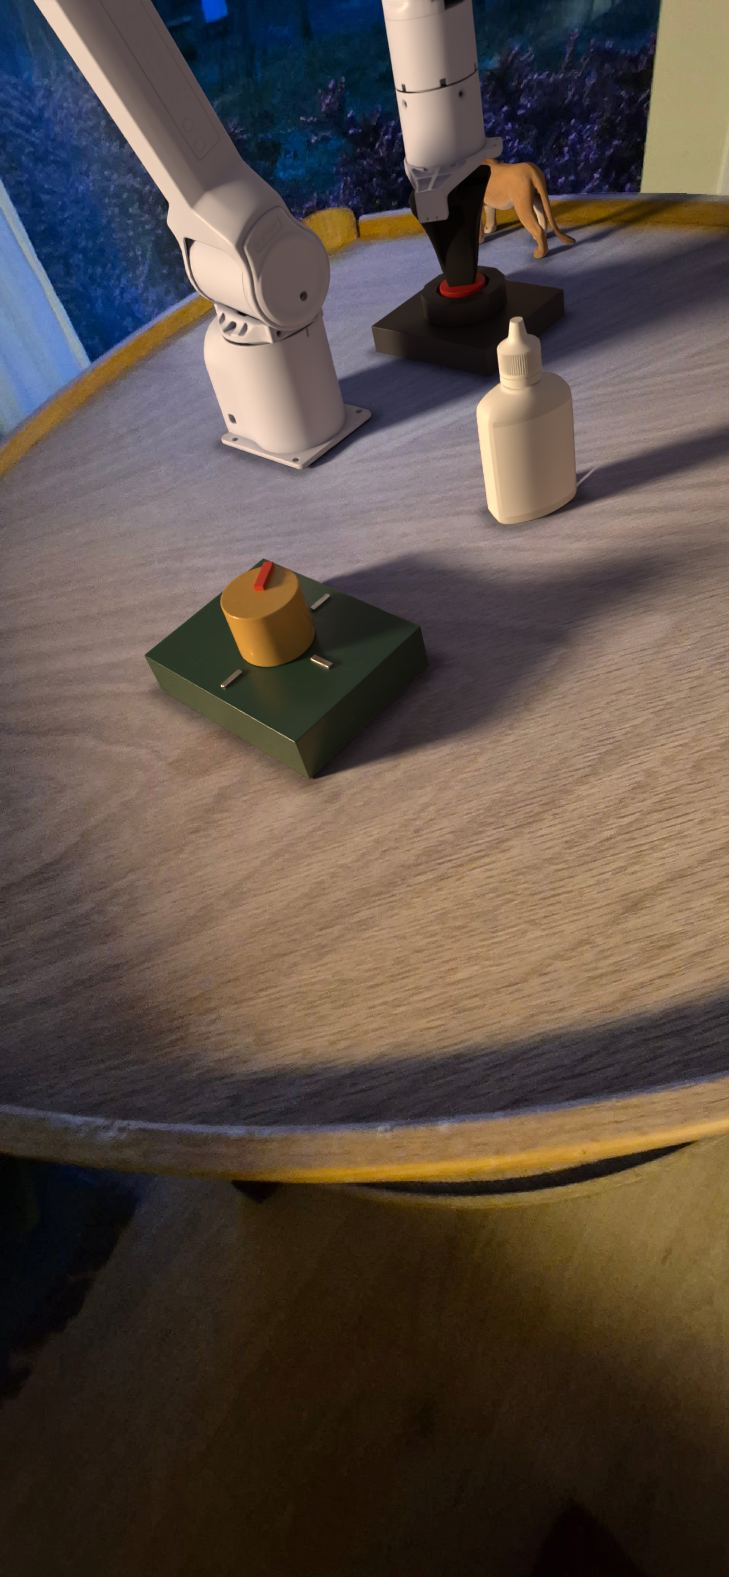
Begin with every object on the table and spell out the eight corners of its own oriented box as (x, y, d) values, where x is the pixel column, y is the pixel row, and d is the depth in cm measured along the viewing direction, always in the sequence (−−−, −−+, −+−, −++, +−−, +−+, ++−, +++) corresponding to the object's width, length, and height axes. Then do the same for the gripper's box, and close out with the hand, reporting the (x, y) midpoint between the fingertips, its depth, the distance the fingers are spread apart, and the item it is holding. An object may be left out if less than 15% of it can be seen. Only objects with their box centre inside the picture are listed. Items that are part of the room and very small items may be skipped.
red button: (433, 311, 76) (430, 289, 75) (461, 291, 77) (458, 269, 76) (468, 318, 74) (465, 295, 73) (496, 297, 75) (494, 274, 74)
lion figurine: (428, 249, 90) (412, 142, 84) (461, 224, 92) (448, 118, 86) (560, 263, 82) (554, 146, 76) (592, 236, 84) (589, 119, 78)
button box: (376, 352, 79) (366, 304, 76) (450, 297, 83) (444, 248, 80) (489, 378, 73) (483, 326, 70) (565, 316, 76) (562, 265, 73)
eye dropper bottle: (575, 522, 59) (566, 332, 50) (485, 528, 61) (461, 345, 52) (578, 481, 62) (569, 294, 53) (492, 488, 63) (470, 307, 54)
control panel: (162, 691, 57) (142, 653, 55) (276, 595, 61) (262, 555, 58) (310, 780, 50) (294, 740, 48) (429, 665, 54) (420, 623, 51)
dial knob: (304, 667, 51) (285, 613, 48) (230, 667, 52) (207, 615, 50) (323, 613, 54) (306, 559, 51) (252, 614, 55) (232, 562, 52)
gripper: (479, 104, 59) (501, 321, 69) (507, 33, 67) (523, 235, 78) (371, 123, 61) (408, 331, 71) (412, 52, 69) (439, 247, 80)
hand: (462, 282), depth 75 cm, fingers closed, pressing on red button
